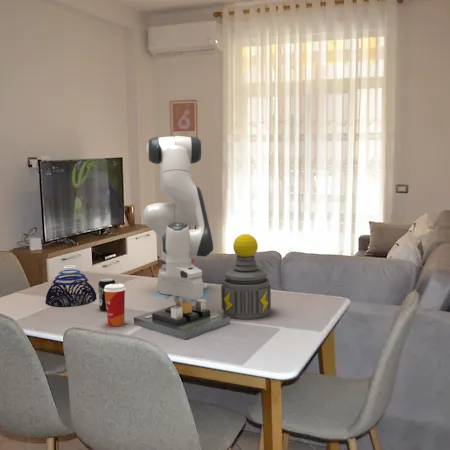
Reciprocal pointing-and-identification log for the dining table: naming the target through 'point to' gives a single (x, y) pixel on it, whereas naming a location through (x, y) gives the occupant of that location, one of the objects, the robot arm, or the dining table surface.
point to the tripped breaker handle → (186, 307)
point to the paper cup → (115, 304)
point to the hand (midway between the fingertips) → (179, 307)
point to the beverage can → (102, 284)
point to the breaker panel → (182, 331)
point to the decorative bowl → (66, 293)
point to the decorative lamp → (245, 284)
